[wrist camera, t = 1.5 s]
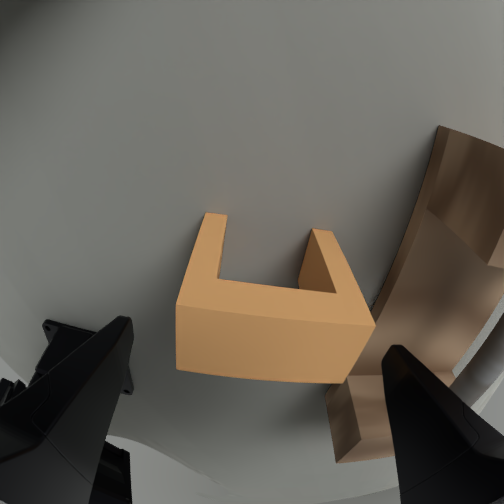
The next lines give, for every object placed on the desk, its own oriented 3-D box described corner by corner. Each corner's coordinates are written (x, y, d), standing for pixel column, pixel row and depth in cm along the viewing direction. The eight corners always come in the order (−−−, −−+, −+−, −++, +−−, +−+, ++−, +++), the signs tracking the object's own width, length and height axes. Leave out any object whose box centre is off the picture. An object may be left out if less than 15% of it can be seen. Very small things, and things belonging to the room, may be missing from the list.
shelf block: (423, 390, 22) (447, 454, 16) (324, 395, 21) (338, 475, 15) (540, 181, 12) (612, 231, 6) (438, 125, 11) (547, 169, 5)
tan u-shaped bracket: (331, 231, 14) (376, 325, 9) (315, 282, 16) (342, 383, 10) (205, 212, 14) (175, 304, 8) (200, 266, 15) (176, 369, 10)
